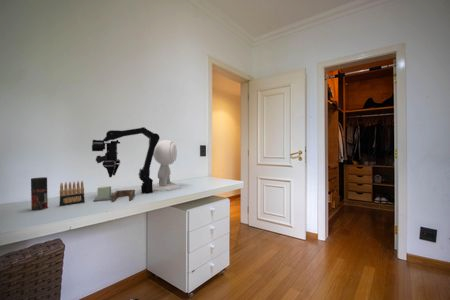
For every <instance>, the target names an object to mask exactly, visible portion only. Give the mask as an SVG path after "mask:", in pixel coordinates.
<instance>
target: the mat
mask: <svg viewBox="0 0 450 300" xmlns="http://www.w3.org/2000/svg"><path fill="white" fill-rule="evenodd" d="M108 200H109V201H111V197H110V198H103V199H98V196H97V197H96V198H94V199H93V201H92V202H103V201H104V202H105V201H108ZM109 201H108V202H109Z"/></svg>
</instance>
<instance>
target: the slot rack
mask: <svg viewBox="0 0 450 300" xmlns="http://www.w3.org/2000/svg"><path fill="white" fill-rule="evenodd" d="M135 192H136V190H135V189H124V190H115V192H114V193H113V194H111V200H110V201H111V203H114V202H116V201H117V199H118V198H120V197H128V200H129V202H132V201H133V199H134V198H135V195H136V193H135ZM131 200H132V201H131Z"/></svg>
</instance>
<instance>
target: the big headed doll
mask: <svg viewBox="0 0 450 300" xmlns="http://www.w3.org/2000/svg"><path fill="white" fill-rule="evenodd" d="M177 152H178V150H177V145H176V144H175V143H174V141H172V140H169V139H163V140H160V141H158V143H157V145H156V147H155V149H154V153H153V159H154V160H155V161H156V162H157V163H158V164H159V165H160V166H159V169H158V170H157V178H158V183H155V184H153V183H152V185H153V192H155V191H156V192H157V191H158V192H159V191H160V192H161V191H163V192H164V191H165V192H167V191H169V192H170V191H172V190H177V189H178V190H179V189H181V186H180V185H179V184H178V183H175V182H172V181H171V169H170V166H169V165H173V164H174V162H175V161H176V160H177V155H178V153H177Z"/></svg>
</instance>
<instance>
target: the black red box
mask: <svg viewBox="0 0 450 300" xmlns="http://www.w3.org/2000/svg"><path fill="white" fill-rule="evenodd" d="M30 194H31V195H30V197H31V198H30V202H31V211H42V210H46V209H48V208H49V206H48V202H49V201H48V177H46V176H45V177H43V176H42V177H41V176H40V177H31V178H30Z"/></svg>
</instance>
